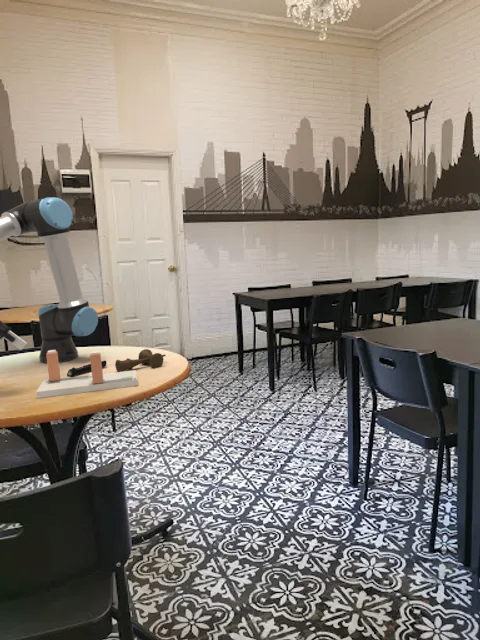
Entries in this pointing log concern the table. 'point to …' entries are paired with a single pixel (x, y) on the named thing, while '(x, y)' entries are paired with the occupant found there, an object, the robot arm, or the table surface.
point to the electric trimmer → (82, 369)
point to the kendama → (140, 361)
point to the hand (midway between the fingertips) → (23, 346)
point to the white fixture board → (86, 384)
